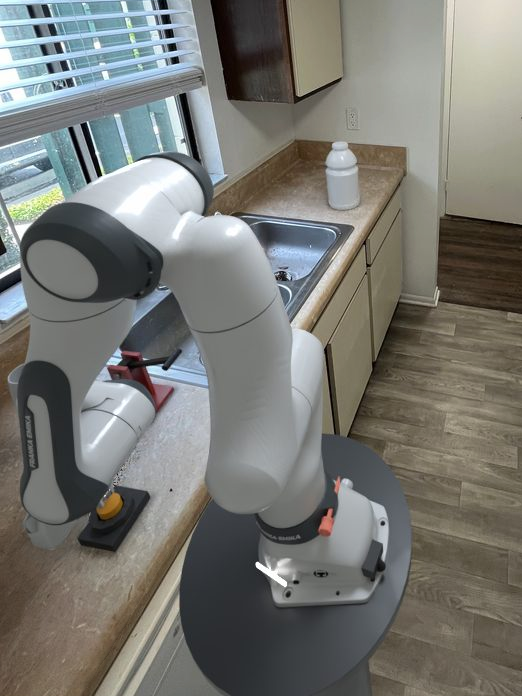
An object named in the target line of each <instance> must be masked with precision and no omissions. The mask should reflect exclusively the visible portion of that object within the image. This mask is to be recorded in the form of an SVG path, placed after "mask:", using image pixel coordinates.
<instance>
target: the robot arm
mask: <svg viewBox="0 0 522 696" xmlns="http://www.w3.org/2000/svg"><path fill="white" fill-rule="evenodd" d="M214 194H215V190H214V184H213V180H212V178H211V176H210V174H209V173H208V171H207V169H206V168H205V167H204V166H203V165H202V164H201V163H200V161H197V160H196V159H195V158H194V157H192V156H191V155H188V154H186V153H182V152H179V151H174V150H170V151H168V150H166V151H159V152H154V153H151V154H146V155H144V156H141V157H139V158H138V159H136V160H135V161H134V162H133V163H130V164H128V165H126V166H122V167H121V168H119V169H116V170H114V171H112V172H110V173H108V174H104V175H102V176H99V177H97V178H96V179H94V180H92V181H90V182H89V183H87V184H86V185H84V186H83V187H82V188H80V189H79V190H77V191H75V192H74V193H73V194H72V195H70V196H68V197H67V198H66V199H65V200H64V201H62V202H60V203H57V204H54V205H53V206H51V207H49V208H48V209H46V210H45V211H44V212H43V213H41V215H40V216H39V217H38V218H36V220H34V221H33V222H32V223H31V224H30V225H29V226H28V227H27V228H26V230H25V231H24V232H23V235H22V236H21V240H20V243H19V264H20V265H19V267H20V278H21V284H22V285H21V286H22V290H23V295H24V298H25V302H26V303H25V304H26V305H27V309H28V313H29V322H30V323H29V339H28V347H27V351H26V357H25V359H24V360H25V361H24V363H25V364H24V363H23V364H24V367H23V369H22V372H21V375H20V378H19V381H18V387H17V399H16V407H15V411H16V415H17V419H18V425H19V433H20V441H21V452H22V462H23V471H22V474H21V477H20V483H19V497H20V503H21V505H22V508H23V509H24V511H25V512H26V514H25V516H24V519H23V520H22V523H21V524H22V527H23V528H24V530H25V531H26V532H27V535H28V537H29V540H30V542H31V543H32V545H33V546H34V547H36V548H39V549H43V550H54V549H56V548H59V546H61V544H62V543H63V542H64V540H65V539H66V538H67V536H68V535H69V533H70V532H71V531H72V530H73V528H74V527H75V525H76V524H77V523H78V522H79V520H80V519H81V518H83V517H85V516H87V515H88V514H89V515H90V513H91V512H92V511H94V510H95V509H96V508H101V509H102V508H103V507H104V505H105V504H106V502H107V501H108V499H109V498H110V497H111V495H112V494H113V493H114V491H115V490H114V482H115V477H116V476H117V475H118V474H119V472H120V470H121V469H122V468H123V466H124V465H125V463H126V462H127V461H128V459H129V458H130V456H131V454H132V453H133V451H134V450H135V448H136V447H137V445H138V444H139V443H140V441H141V440H142V438H143V436H144V435H145V434H146V432H147V430H148V429H149V428H150V426H151V424H152V423H153V421H154V420H155V419H156V416H157V414H156V405H155V402H154V399H153V397H152V396H151V394H150V392H149V391H148V390H147V388H146V387H145V386H144V385H142V384H141V383H139V382H137V381H134V380H129V379H117V380H112V379H107V380H99V379H98V377H99V375H100V374H101V372H102V371H103V370H104V368H105V367H106V365H107V364H108V363H109V361H110V359H112V357H113V356H114V354H115V353H116V352H117V350H118V349H119V348H120V346H121V345H122V344H123V343H124V341H125V339H127V337H128V335H129V333H130V331H131V330H132V328H133V325H134V322H135V319H136V313H137V305H138V300H141V299H144V298H146V297H148V296H149V295H151V294H153V292H154V291H155V290H156V289H157V287H158V286H159V284H160V285H161V286H164V287H166V288H167V289H168V290H169V291H170V292H171V293H172V294H173V296H174V297H175V300H176V301H177V304H178V305H179V307H180V311H181V312H182V315H183V317H184V320H185V323H186V325H187V327H188V329H189V332H190V333H191V337H192V339H193V341H194V343H195V346H196V348H197V350H198V354H199V355H200V358H201V361H202V364H203V366H204V369H205V374H206V379H207V386H208V400H209V417H210V418H209V422H210V433H209V437H210V438H209V447H208V448H209V450H208V457H207V463H206V468H205V474H204V486H205V487H206V490H207V492H208V495H210V498H211V499H213V500H214V501H215V502H216V503H217V504H218V505H219V506H220V507H222V508H223V509H225V510H227V511H229V512H232V513H236V514H253V513H254V514H255V518H256V523H257V525H258V528H259V530H260V532H261V537H260V541H259V548H258V555H259V562H260V564H259V563H258V562H257V563H256V566H257V568H259V569H260V570H262V571H263V573H264V575H265V576H266V578H267V579H268V581H269V583H270V585H271V592H272V598H273V602H274V604H275V605H276V606H277V607H298V606H318V605H337V604H357V603H366V602H368V601H369V599H370V598H371V597H372V595H373V594H374V592H375V591H376V589H377V587H378V585H379V583H380V580H381V577H382V575H383V571H384V570H385V568H386V565H385V564H386V558H387V553H388V546H389V522H388V517H387V513H386V510H385V508H384V507H383V506H382V505H380V504H377V503H375V502H372V501H370V500H368V499H367V498H366V497H365V496H363V495H361V494H359V493H358V492H356V491H354V490H352V488H353V483H352V482H351V481H350V480H349V479H343V480H342V481H341V483H340V476H339V477H338V479H337V481H335V480H333V479H332V478H331V476H330V475H329V474H328V472H327V471H326V470H325V468H324V467H323V460H322V452H321V438H322V433H323V413H324V409H323V408H324V405H323V404H324V387H323V384H324V382H323V381H324V367H325V366H324V365H325V350H324V346H323V344H322V343H321V341H320V340H319V338H318V337H316V335H314V334H313V333H311V332H309V331H308V330H304V329H302V328H298V327H297V328H295V327H292V325H291V322H290V319H289V316H288V313H287V309H286V306H285V302H284V301H283V297H282V294H281V291H280V287H279V284H278V282H277V281H278V280H277V278H276V275H275V273H274V270H273V268H272V266H271V262H270V260H269V258H268V257H267V254H266V253H265V250H264V248H263V246H262V244H261V243H260V241H259V239H258V238H257V236H256V234H255V233H254V231H253V230H252V228H251V226H250V225H249V224H248V223H246V222H245V220H242V219H241V218H239V217H237V216H234V215H233V216H232V215H226V214H216V215H209V216H206V214H207V212H208V211H209V209H210V208H211V205H212V203H213V199H214ZM205 216H206V217H205ZM141 292H142V293H141ZM382 523H385V525H384V526H381V524H382ZM370 579H372V580H374V579H375V581H374V582H371V581H370ZM288 593H291V596H290V597H289V598H286V596H287V594H288ZM337 594H339V595H338V596H337Z"/></svg>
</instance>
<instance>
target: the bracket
mask: <svg viewBox="0 0 522 696" xmlns="http://www.w3.org/2000/svg"><path fill="white" fill-rule="evenodd" d="M120 356H121V360H122V359H127V358H132V359H133V360H134V362H135V361H142V360H144V358H143V355H142V353H141V352H136V351H129V350H123V351H122V352H120ZM106 369H107V372H108V374H109V377H110V380H117V379H129V380H134V381H137V382H139V383H141V384H142V385H144V386H145V387H146V388H147V390H148V391H149V392H150V394H151V396H152V397H153V399H154V402H155V405H156V415H157V414H158V412H159V411H160V410H161V408H162V407H163V406H164V404H165V403H166V402H167V401H168V399H169V398H170V396H171V395H172V394H173V392H174V391H175V388H174V386H173V385H167V384H166V385H165V384H158V383H153V382H152V379H151V376H150V374H149V371H148V368H147V367H140V368H135V369H134V370H133V371H132V372H131V373H130V371H129V368H128V367H125V366H117V364H109V365H108V366H107V367H106Z"/></svg>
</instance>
